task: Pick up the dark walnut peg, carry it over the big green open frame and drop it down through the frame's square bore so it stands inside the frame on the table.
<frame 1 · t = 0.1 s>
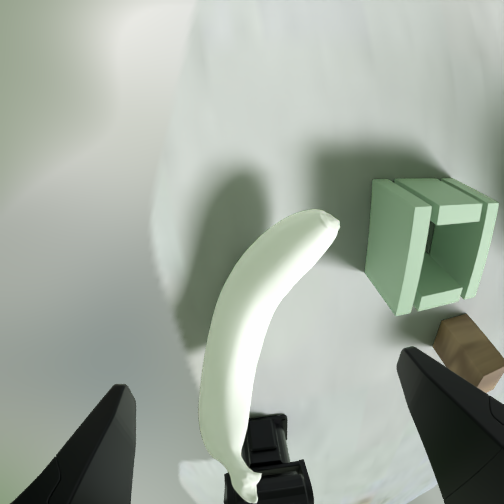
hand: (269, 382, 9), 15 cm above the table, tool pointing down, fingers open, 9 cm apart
green open frame: (410, 224, 24), on the table
banana: (246, 293, 26), on the table
walnut peg: (449, 330, 31), on the table
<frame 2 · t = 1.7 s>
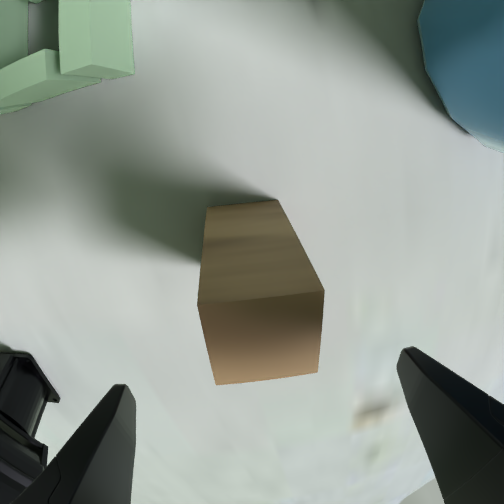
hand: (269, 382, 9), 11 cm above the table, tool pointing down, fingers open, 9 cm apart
green open frame: (64, 28, 12), on the table
wine bottle: (478, 56, 14), on the table
walnut peg: (245, 235, 19), on the table
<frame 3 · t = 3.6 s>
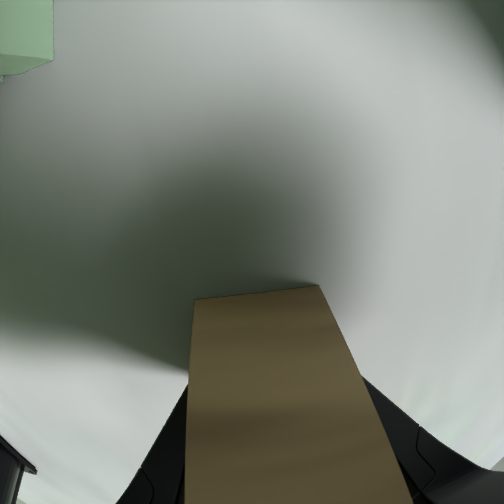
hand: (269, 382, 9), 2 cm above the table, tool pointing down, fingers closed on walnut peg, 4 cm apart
walnut peg: (261, 338, 11), on the table, touching gripper
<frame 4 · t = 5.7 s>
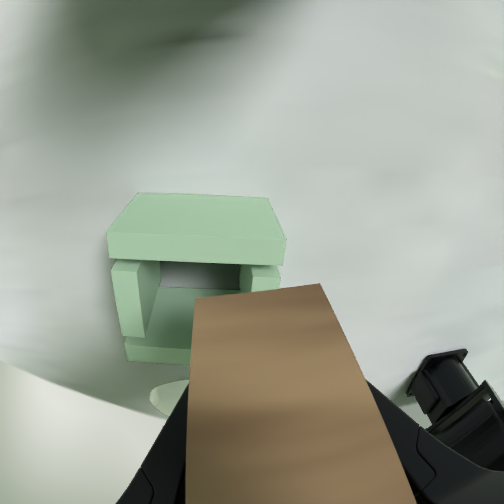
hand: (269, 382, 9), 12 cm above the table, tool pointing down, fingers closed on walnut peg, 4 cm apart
green open frame: (200, 254, 21), on the table
banana: (252, 388, 28), on the table
walnut peg: (261, 337, 11), point 10 cm above the table, touching gripper
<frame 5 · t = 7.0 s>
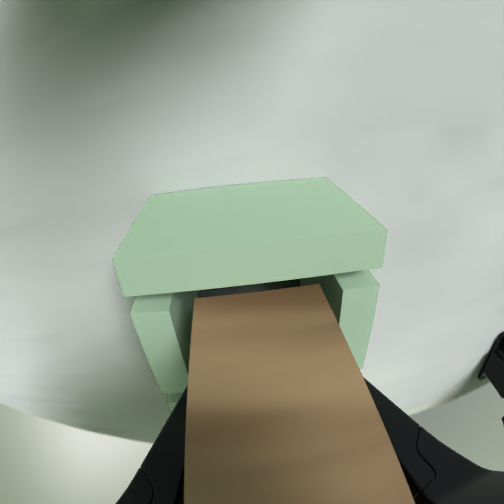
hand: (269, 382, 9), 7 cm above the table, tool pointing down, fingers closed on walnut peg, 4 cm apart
green open frame: (246, 263, 16), on the table
walnut peg: (261, 337, 11), point 5 cm above the table, touching gripper
when the fingers open (7 cm above the table, at t = 7.8 s): walnut peg drops 5 cm, resting in green open frame.
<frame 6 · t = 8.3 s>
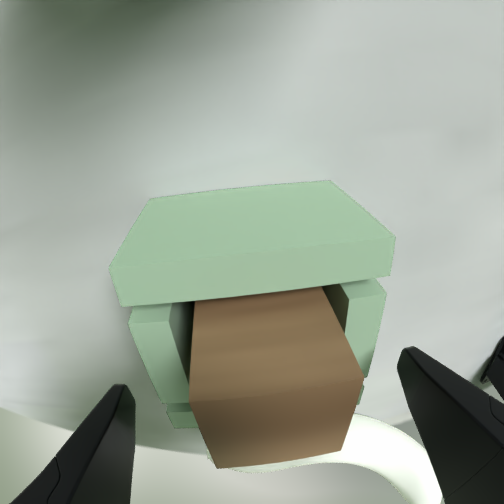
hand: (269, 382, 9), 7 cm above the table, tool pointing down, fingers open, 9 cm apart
green open frame: (248, 268, 15), on the table
banana: (322, 410, 22), on the table
walnut peg: (249, 266, 15), resting in green open frame
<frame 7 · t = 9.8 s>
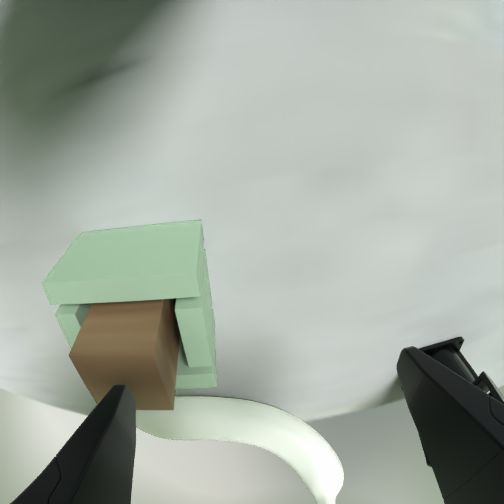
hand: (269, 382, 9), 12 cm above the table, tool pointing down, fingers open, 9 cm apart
green open frame: (149, 281, 20), on the table
banana: (235, 398, 28), on the table
walnut peg: (150, 280, 20), resting in green open frame
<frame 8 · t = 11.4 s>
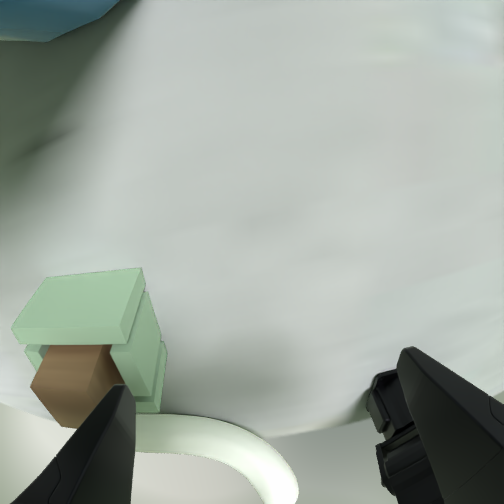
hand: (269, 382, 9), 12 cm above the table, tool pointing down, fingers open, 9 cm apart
green open frame: (106, 317, 22), on the table
banana: (199, 415, 29), on the table
walnut peg: (106, 316, 22), resting in green open frame
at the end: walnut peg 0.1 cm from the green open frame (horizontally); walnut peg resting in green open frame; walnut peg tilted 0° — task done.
